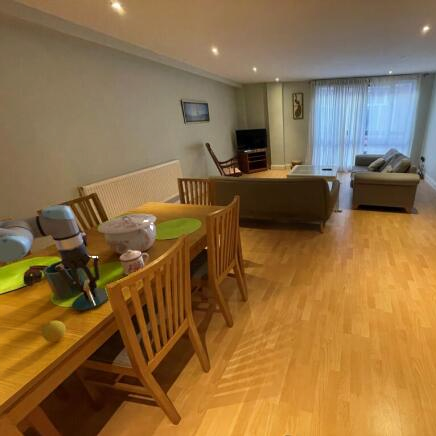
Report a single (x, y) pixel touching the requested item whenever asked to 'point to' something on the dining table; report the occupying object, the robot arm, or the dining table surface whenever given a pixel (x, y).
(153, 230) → the chamber pot
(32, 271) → the pottery mug
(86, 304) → the pot lid
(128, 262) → the teacup with lid
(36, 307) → the dining table surface
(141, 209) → the dining table surface
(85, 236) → the mate gourd
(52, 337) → the lemon
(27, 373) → the dining table surface
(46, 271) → the blue cylindrical pot
